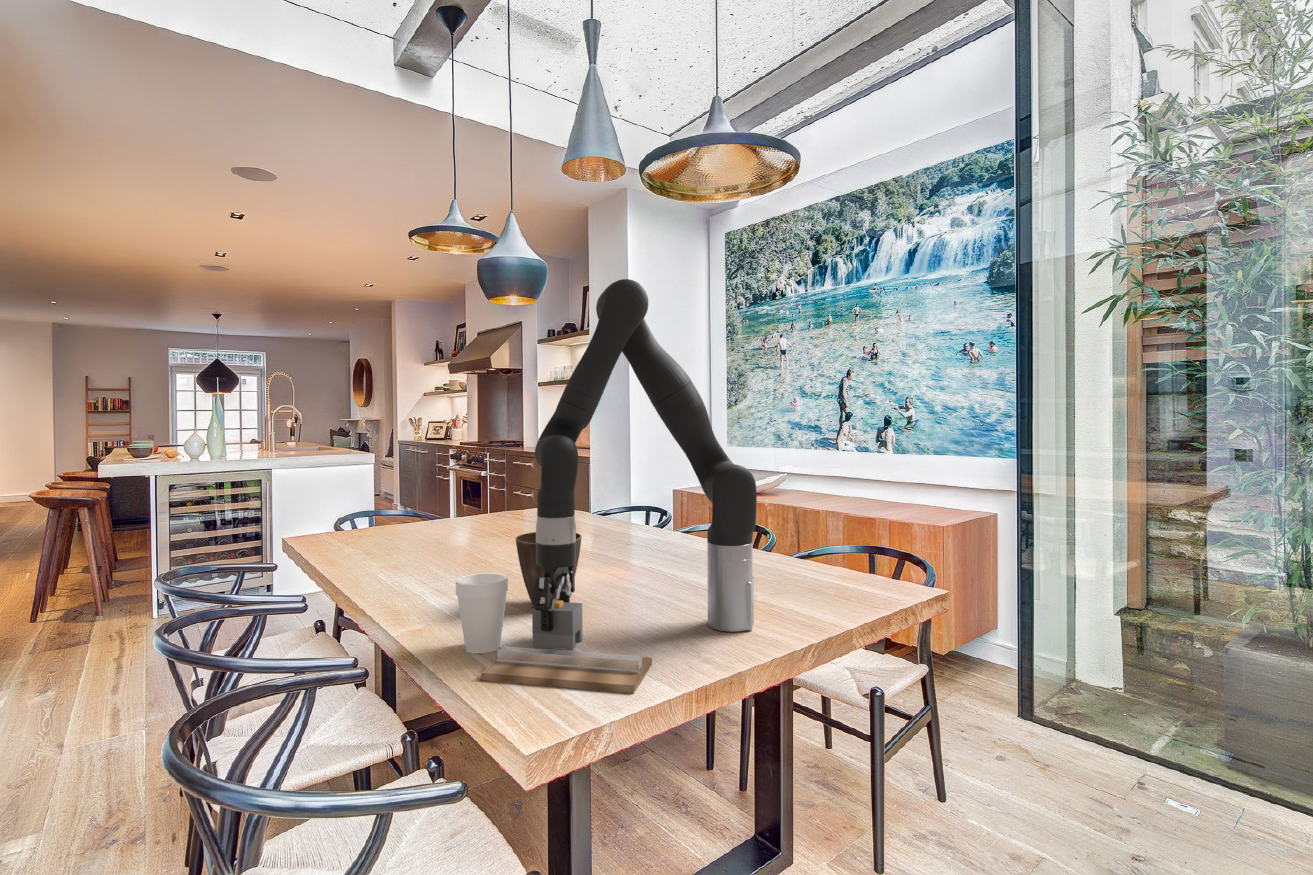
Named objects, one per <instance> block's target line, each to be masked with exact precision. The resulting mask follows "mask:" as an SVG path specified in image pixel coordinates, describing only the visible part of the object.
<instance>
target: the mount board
mask: <svg viewBox="0 0 1313 875" xmlns="http://www.w3.org/2000/svg"><path fill="white" fill-rule="evenodd" d="M497 660H498V659H496V660H495V661H494V662H492V663H491V664H490V665H488V666H487V667H486V668H485V669H484V670H482V671H481V672H480V681H489V682H490V681H491V682H500V683H501V682H502V683H510V684H511V683H512V684H521V685H522V684H524V685H537V686H544V687H545V686H546V687H547V686H548V687H559V688H560V687H561V688H568V689H569V688H570V689H583V690H591V691H592V690H594V691H603V692H604V691H605V692H615V693H617V692H618V693H629V694H635V693H636V692H637V690H638V688H639V687H640V685H641V683H642V681H643V680H644V678H645V677H646V675H647V673H649V670H650V669H651V666H652V665H653V658H652V657H647V656H646V657H645V656H642V666H643V668H642V669H641V671H640V672H639V674H633V673H621V672H608V671H596V670H583V669H571V668H558V667H546V666H533V665H520V664H508V663H497Z"/></svg>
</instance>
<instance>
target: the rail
mask: <svg viewBox="0 0 1313 875" xmlns="http://www.w3.org/2000/svg"><path fill="white" fill-rule="evenodd" d="M496 651H497V659H496V660H497V663H508V664H520V665H533V666H546V667H558V668H571V669H583V670H596V671H608V672H621V673H633V674H639V672H640V671H641V669H642V668H643V666H642V657H643V656H642V655H641V656H640V655H630V654H629V655H628V654H627V655H626V654H614V653H603V652H602V653H599V652H588V651H586V652H585V651H573V650H563V649H549V648H535V647H532V648H531V647H520V646H518V647H517V646H506V645H504V646H503V645H502V646H500V648H499V649H498V650H496Z"/></svg>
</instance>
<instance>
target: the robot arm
mask: <svg viewBox="0 0 1313 875" xmlns="http://www.w3.org/2000/svg"><path fill="white" fill-rule="evenodd" d="M595 309H596V310H595V311H596V316H597V318H598V322H597V324H596V327H595V330H594V332H593V335H592V338H591V339H590V342H589V343H588V346H587V347H586V349H585V351H584V353H583V354H582V357H581V358H580V360H579V361H578V362H577V365H576V367H575V368H574V369H573V372H572V374H571V375H570V377H569V380H568V381H567V383H566V386H565V387H564V390H563V392H562V394H561V396H560V398H559V401H558V402H557V406H556V408H555V410H554V413H553V414H552V415H551V418H550V419H549V421H548V422H547V424H546V425H545V427H544V429H543V430H542V432H541V434H540V436H539V438H538V439H537V442H536V445H535V449H534V457H535V460H536V462H537V464H538V465H540V467H541V471H540V472H541V474H540V476H541V477H540V478H541V479H540V487H539V489H538V490H537V499H536V506H537V508H536V510H537V511H536V518H537V519H536V524H535V532H536V564H537V565H538V566H542V567H543V568H544V573H543V577H536V580H535V610H539V611H541V630H542V631H544V632H551V631H552V630H553V609H554V605H555V601H557V600H561V601H563V602H570V603H571V598H572V594H573V593H575V590H576V587H575V578H576V577H575V576H576V574H575V575H574V564H575V562H576V533H577V528H576V527H577V526H576V519H575V514H576V512H575V504H576V502H575V500H576V499H575V488H576V484H577V483H576V482H577V477H578V469H579V452H578V447H577V445H576V443H577V441H578V439H579V436H580V434H581V433H582V431H583V430H584V429H586V428H587V427H588V425H590V422H592V418H593V417H594V415H595V413H596V410H597V407H598V406H599V404H600V400H601V399H602V397H603V394H604V392H605V389H606V387H607V385H608V382H609V380H610V379H611V378H610V377H611V375H612V373H613V370H614V368H615V366H616V364H617V362H618V360H619V358H620V355H622V354H623V355H624V356H625V358H626V360H627V362H628V363H629V365H630V366H631V368H632V370H633V372H634V375H635V376H636V379H637V380H638V382H639V384H641V387H642V388H643V390H644V392H645V393H646V395H647V397H648V399H649V401H650V403H651V404H652V406H653V408H654V410H655V411H656V413H657V414H658V417H659V418H660V419H661V421H662V422H663V424H664V426H666V428H667V430H668V431H669V433H670V434H671V436H672V437H673V439H674V441H675V442H676V443H677V444H678V446H679V447H680V448H681V450H682V451H683V453H684V455H685V457H686V458H687V460H688V461H689V464H690V465H691V467H692V469H693V471H694V474H695V476H696V477H697V479H698V482H699V485H700V486H701V489H702V491H703V493H704V495H705V496H706V498H707V499H708V501H710V502H711V503H712V505H711V507H712V510H711V512H712V513H711V522H710V526H709V527H708V528H707V531H706V532H707V534H706V538H707V540H706V543H707V546H706V548H707V549H706V550H707V552H706V553H707V561H706V562H707V626H708V627H709V628H711V629H714V630H717V631H720V632H721V631H722V632H729V633H730V632H733V633H734V632H744V631H753V627H754V622H755V608H754V607H755V602H754V601H755V598H754V597H755V583H754V582H755V581H754V580H755V579H754V576H753V571H754V569H753V565H754V564H753V560H754V559H753V556H754V555H753V540H754V539H753V536H754V531H755V530H756V524H757V502H758V501H757V499H758V498H757V496H758V495H757V491H758V490H757V482H756V479H755V477H754V475H753V473H752V472H751V471H750V470H749V469H748V468H746V467H745V466H742V465H739V464H734V463H733V462H732V460H731V459H730V457H729V456H728V455H727V453H726V452H725V451H724V449H723V447H722V446H721V445H720V443H719V441H718V439H717V438H716V436H715V433H714V430H713V427H712V424H711V421H710V417H709V414H708V411H707V407H706V405H705V403H704V401H703V398H702V396H701V394H700V393H699V391H698V389H697V387H696V386H695V385H694V382H693V381H692V379H691V377H690V376H689V374H687V372H686V371H685V370H684V368H683V367H682V366H681V365H680V364H679V363H678V362H677V361H676V360H675V359H674V358H673V357H672V356H671V355H670V354H669V353H668V352H667V351H666V350H665V348H664V347H663V346H661V344H659V342H658V341H657V338H655V336H654V334H653V333H652V331H651V329H650V327H649V325H648V324H647V321H646V319H645V317H646V315H647V313H648V310H649V297H648V294H647V292H646V290H645V288H644V287H643V286H642V285H641V284H640V282H637V281H636V280H633V279H629V278H627V279H626V278H623V279H619V280H616V281H614V282H612V283H611V284H609V285H608V286H607V287H606V288H605V289H604V290H603V292H602V293H601V294H600V295H599V297H598V299H597V301H596V306H595ZM540 597H541V601H540ZM559 597H560V598H559ZM550 600H551V601H550Z"/></svg>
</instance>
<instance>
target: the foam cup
mask: <svg viewBox="0 0 1313 875" xmlns="http://www.w3.org/2000/svg"><path fill="white" fill-rule="evenodd" d="M508 591H509V579H508V575H507V574H503V573H498V572H497V573H496V572H479V573H472V574H467V575H462V576H459V577H457V579H455V596H457V600H458V601H457V602H458V608H459V614H460V615H459V616H460V621H461V627H462V628H461V629H462V634H463V635H462V636H463V641H464V642H463V643H464V646H465V651H466V652H467V651H468V653H469V654H474V653H482V654H488V653H493V652H495V651H497V649H498V648H499V647H500V648H501V644H502V634H503V627H504V626H503V625H504V618H505V608H506V601H507V594H508V593H507V592H508ZM500 648H499V649H500Z"/></svg>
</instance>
